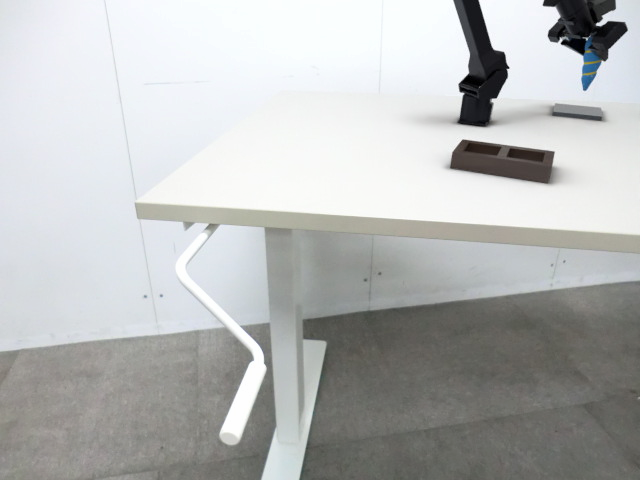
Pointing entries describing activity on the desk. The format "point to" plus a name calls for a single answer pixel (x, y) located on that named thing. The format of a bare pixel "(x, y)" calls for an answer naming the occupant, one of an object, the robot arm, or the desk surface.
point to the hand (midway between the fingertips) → (597, 58)
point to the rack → (503, 160)
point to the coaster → (577, 111)
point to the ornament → (589, 66)
